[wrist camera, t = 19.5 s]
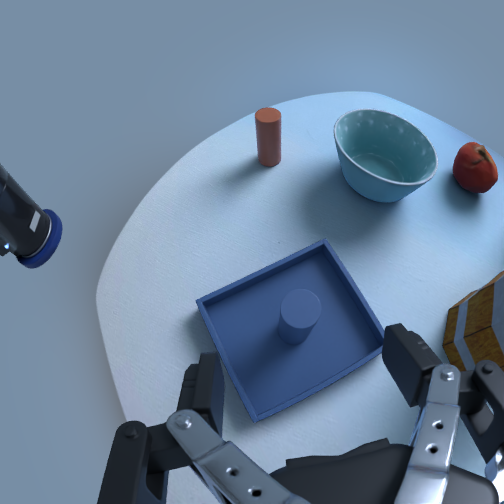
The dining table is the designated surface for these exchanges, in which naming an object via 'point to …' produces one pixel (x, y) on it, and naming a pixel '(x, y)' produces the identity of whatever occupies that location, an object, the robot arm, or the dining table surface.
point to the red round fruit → (475, 168)
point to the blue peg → (298, 315)
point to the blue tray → (270, 343)
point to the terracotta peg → (268, 136)
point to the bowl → (383, 154)
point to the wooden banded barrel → (477, 327)
